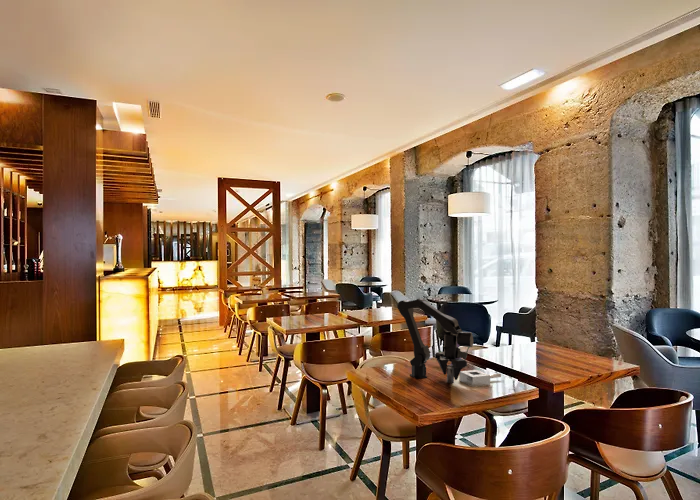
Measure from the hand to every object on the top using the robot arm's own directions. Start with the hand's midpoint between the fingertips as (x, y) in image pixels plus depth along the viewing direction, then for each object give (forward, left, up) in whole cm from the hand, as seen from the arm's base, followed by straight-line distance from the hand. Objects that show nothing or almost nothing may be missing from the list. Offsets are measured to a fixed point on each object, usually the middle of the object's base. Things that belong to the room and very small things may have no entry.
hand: (450, 377), depth 192 cm
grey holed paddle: (+16, -4, -3) cm, 17 cm away
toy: (+20, +25, -3) cm, 32 cm away
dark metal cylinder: (0, 0, -2) cm, 2 cm away
